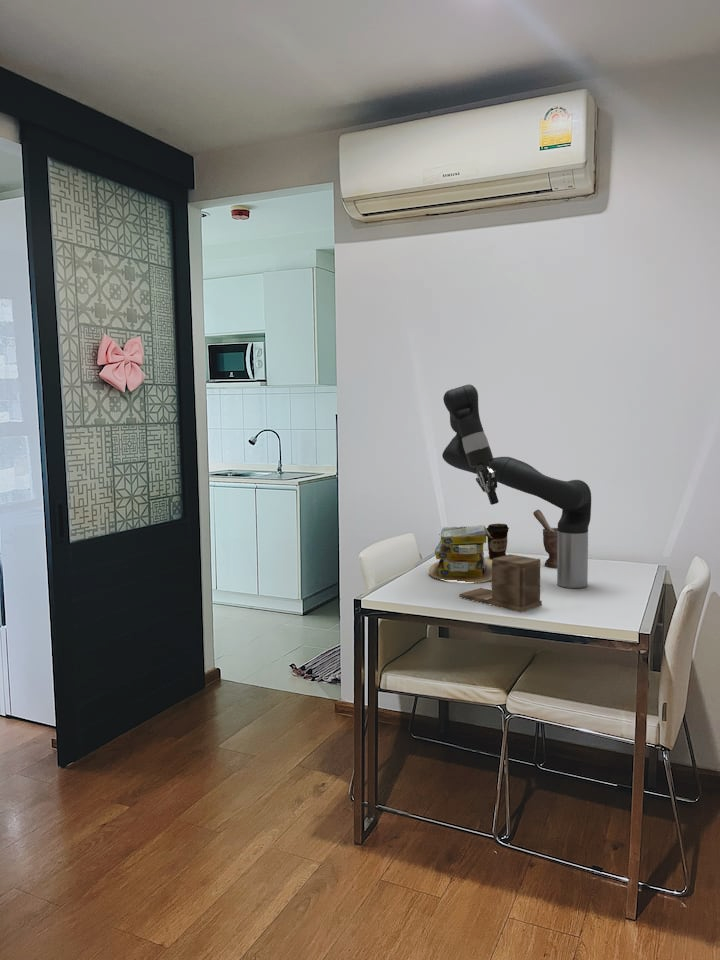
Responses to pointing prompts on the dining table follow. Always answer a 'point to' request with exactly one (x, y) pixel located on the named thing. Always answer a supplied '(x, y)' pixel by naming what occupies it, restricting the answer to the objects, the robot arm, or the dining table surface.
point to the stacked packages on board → (462, 555)
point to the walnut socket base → (511, 584)
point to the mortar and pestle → (548, 539)
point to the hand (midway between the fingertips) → (494, 503)
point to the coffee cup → (497, 540)
